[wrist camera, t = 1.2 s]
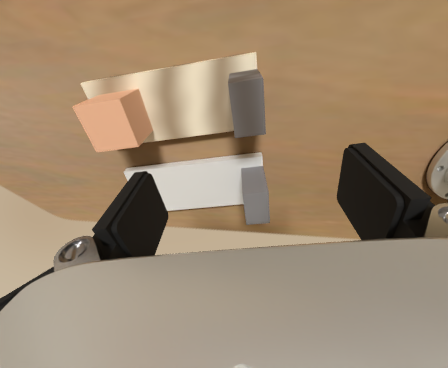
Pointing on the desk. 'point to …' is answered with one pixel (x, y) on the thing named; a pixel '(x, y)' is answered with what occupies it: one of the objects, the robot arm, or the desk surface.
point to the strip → (213, 184)
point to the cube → (115, 120)
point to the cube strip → (196, 97)
